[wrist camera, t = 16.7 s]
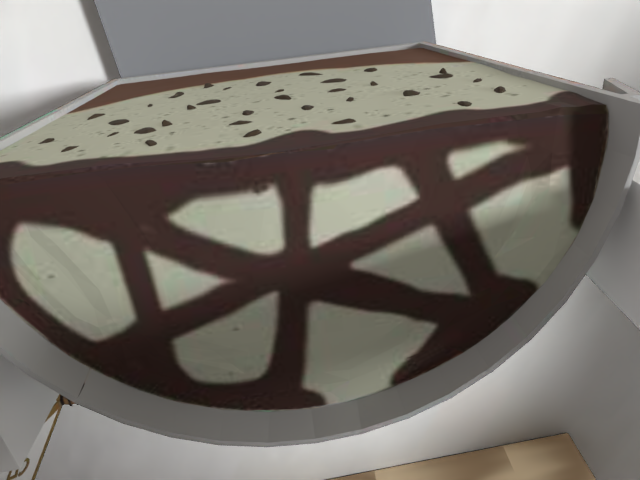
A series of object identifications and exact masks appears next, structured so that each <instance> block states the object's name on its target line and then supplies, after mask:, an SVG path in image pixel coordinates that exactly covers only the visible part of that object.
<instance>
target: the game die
mask: <svg viewBox="0 0 640 480" xmlns="http://www.w3.org/2000/svg"><path fill="white" fill-rule="evenodd" d="M64 404H69V405H70V406H72V404H76V403H74V402H72V401H71V400H69V399H67V398H66V397H64V396H62V395H61V394H59V396H58V398H57V399H56V401H55V403H54V405H53V407H52V409H51V411H50V413H49V415H48V417H47V419H46V421H45V422H44V424H43V426H42V428H41V430H40V432H39V434H38V436H37V438H36V440H35V442H34V444H33V445H32V447H31V449H30V451H29V453H28V455H27V457H26V459H25V461H24V463H23V465H22V467H21V468H20V469H17V470H13V471H8V472H3V473H0V480H35V477H36V474H37V472H38V469H39V466H40V464H41V461H42V458H43V456H44V453H45V450H46V448H47V445H48V442H49V440H50V437H51V434H52V432H53V429H54V426H55V424H56V421H57V418H58V416H59V413H60V410H61V408H62V405H64ZM77 405H78V404H77Z"/></svg>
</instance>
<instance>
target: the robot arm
mask: <svg viewBox="0 0 640 480" xmlns="http://www.w3.org/2000/svg"><path fill="white" fill-rule="evenodd" d="M586 275H587V276H588V277H589V278H590V279H591V280H592V281H593V282H594V283H595V284H596V285H597V286H598V287H599V288H600V289H601V290H602V291H603V292H604V294H605V295H606V296H607V297H608V298H609V299H610V300H611V301H612V302H613V303H614V304H615V305H616V306H617V307H618V308H619V309H620V310H621V311H622V312H623V313H624V314H625V315H626V316H627V317H628V318H629V319H630V320H631V321H632V322H633V324H634V325H635V326H636V327H637V328H638V329H639V330H640V160H639V163H638V166H637V168H636V171H635V174H634V177H633V180H632V182H631V185H630V188H629V191H628V194H627V196H626V199H625V202H624V205H623V208H622V210H621V213H620V214H619V216H618V218H617V220H616V222H615V224H614V226H613V228H612V230H611V232H610V234H609V235H608V237H607V239H606V241H605V243H604V245H603V247H602V249H601V251H600V253H599V255H598V257H597V258H596V260H595V262H594V263H593V264H592V266H591V267H590V269H589V270H588V271H587V273H586ZM58 396H59V393H57V392H55V391H54V390H52V389H50V388H49V387H47V386H45V385H44V384H42V383H40V382H38V381H37V380H35V379H33V378H32V377H30V376H28V375H27V374H26V373H24V372H23V371H22V370H21V369H19V368H18V367H17V366H15V365H14V364H13V363H12V362H10V361H9V360H8V359H6V358H5V357H4V356H3V355H1V354H0V473H3V472H8V471H13V470H17V469H20V468H21V467H22V465H23V463H24V461H25V459H26V457H27V455H28V453H29V451H30V449H31V447H32V445H33V444H34V442H35V440H36V438H37V436H38V434H39V432H40V430H41V428H42V426H43V424H44V422H45V421H46V419H47V417H48V415H49V413H50V411H51V409H52V407H53V405H54V403H55V401H56V399H57V398H58Z"/></svg>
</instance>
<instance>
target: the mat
mask: <svg viewBox="0 0 640 480" xmlns="http://www.w3.org/2000/svg"><path fill="white" fill-rule="evenodd" d="M94 2H95V5H96V8H97V10H98V13H99V16H100V19H101V22H102V25H103V28H104V31H105V33H106V36H107V39H108V42H109V45H110V48H111V51H112V54H113V56H114V59H115V62H116V65H117V68H118V71H119V74H120V76H121V78H127V77H135V76H143V75H152V74H160V73H168V72H176V71H185V70H193V69H201V68H209V67H218V66H226V65H234V64H242V63H250V62H259V61H267V60H275V59H283V58H292V57H300V56H308V55H316V54H325V53H333V52H341V51H349V50H358V49H366V48H374V47H382V46H391V45H399V44H407V43H415V42H423V41H425V42H429V43H433V44H436V39H435V31H434V22H433V14H432V5H431V0H94Z"/></svg>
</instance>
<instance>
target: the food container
mask: <svg viewBox="0 0 640 480" xmlns="http://www.w3.org/2000/svg"><path fill="white" fill-rule="evenodd" d="M639 160H640V92H638V91H636V90H634V89H632V88H631V87H629V86H627V85H625V84H623V83H621V82H620V81H618V80H616V79H614V78H609V79H604V83H603V89H599V88H596V87H592V86H588V85H585V84H581V83H577V82H574V81H570V80H566V79H562V78H559V77H555V76H551V75H548V74H544V73H540V72H536V71H533V70H529V69H525V68H522V67H518V66H514V65H510V64H507V63H503V62H499V61H496V60H492V59H488V58H484V57H481V56H477V55H473V54H470V53H466V52H462V51H459V50H455V49H451V48H447V47H444V46H440V45H436V44H433V43H429V42H425V41H423V42H415V43H407V44H399V45H391V46H382V47H374V48H366V49H358V50H349V51H341V52H333V53H325V54H316V55H308V56H300V57H292V58H283V59H275V60H267V61H259V62H250V63H242V64H234V65H226V66H218V67H209V68H201V69H193V70H185V71H176V72H168V73H160V74H152V75H143V76H135V77H127V78H119V79H113V80H111V81H109V82H107V83H106V84H104V85H102V86H100V87H98V88H96V89H94V90H92V91H90V92H88V93H86V94H84V95H82V96H80V97H78V98H77V99H75V100H73V101H71V102H69V103H67V104H65V105H63V106H61V107H59V108H57V109H55V110H53V111H51V112H49V113H47V114H46V115H44V116H42V117H40V118H38V119H36V120H34V121H32V122H30V123H28V124H26V125H24V126H22V127H20V128H18V129H17V130H15V131H13V132H11V133H9V134H7V135H5V136H3V137H1V138H0V354H1V355H3V356H4V357H5V358H6V359H8V360H9V361H10V362H12V363H13V364H14V365H15V366H17V367H18V368H19V369H21V370H22V371H23V372H24V373H26V374H27V375H28V376H30V377H32V378H33V379H35V380H37V381H38V382H40V383H42V384H44V385H45V386H47V387H49V388H50V389H52V390H54V391H55V392H57V393H59V394H61V395H62V396H64V397H66V398H67V399H69V400H71V401H72V402H74V403H76V404H79V405H81V406H83V407H86V408H88V409H90V410H93V411H95V412H97V413H100V414H102V415H104V416H107V417H109V418H111V419H114V420H116V421H118V422H121V423H123V424H127V425H130V426H134V427H137V428H140V429H144V430H147V431H151V432H154V433H158V434H161V435H165V436H168V437H172V438H179V439H185V440H191V441H197V442H203V443H209V444H216V445H229V446H254V447H274V446H287V445H299V444H311V443H319V442H324V441H329V440H334V439H339V438H343V437H348V436H353V435H358V434H363V433H366V432H369V431H372V430H375V429H378V428H381V427H384V426H387V425H390V424H393V423H396V422H399V421H402V420H405V419H408V418H410V417H412V416H414V415H416V414H418V413H420V412H423V411H425V410H427V409H429V408H431V407H433V406H435V405H437V404H439V403H441V402H444V401H446V400H448V399H450V398H452V397H453V396H455V395H457V394H458V393H460V392H461V391H463V390H464V389H466V388H468V387H469V386H471V385H472V384H474V383H475V382H477V381H479V380H480V379H482V378H483V377H485V376H486V375H488V374H489V373H491V372H493V371H494V370H495V369H496V368H497V367H499V366H500V365H501V364H502V363H503V362H505V361H506V360H507V359H508V358H509V357H511V356H512V355H513V354H514V353H515V352H517V351H518V350H519V349H520V348H521V347H523V346H524V345H525V344H526V343H527V342H529V341H530V340H531V339H532V338H533V337H534V336H535V335H536V334H537V333H538V331H539V330H540V329H541V328H542V327H543V326H544V325H545V324H546V323H547V322H548V321H549V320H550V319H551V317H552V316H553V315H554V314H555V313H556V312H557V311H558V310H559V309H560V308H561V307H562V306H563V305H564V303H565V302H566V301H567V300H568V298H569V297H570V295H571V294H572V293H573V291H574V290H575V288H576V287H577V286H578V284H579V283H580V281H581V280H582V278H583V277H584V276H585V274H586V273H587V271H588V270H589V269H590V267H591V266H592V264H593V263H594V262H595V260H596V258H597V257H598V255H599V253H600V251H601V249H602V247H603V245H604V243H605V241H606V239H607V237H608V235H609V234H610V232H611V230H612V228H613V226H614V224H615V222H616V220H617V218H618V216H619V214H620V213H621V210H622V208H623V205H624V202H625V199H626V196H627V194H628V191H629V188H630V185H631V182H632V180H633V177H634V174H635V171H636V168H637V166H638V163H639Z"/></svg>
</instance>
